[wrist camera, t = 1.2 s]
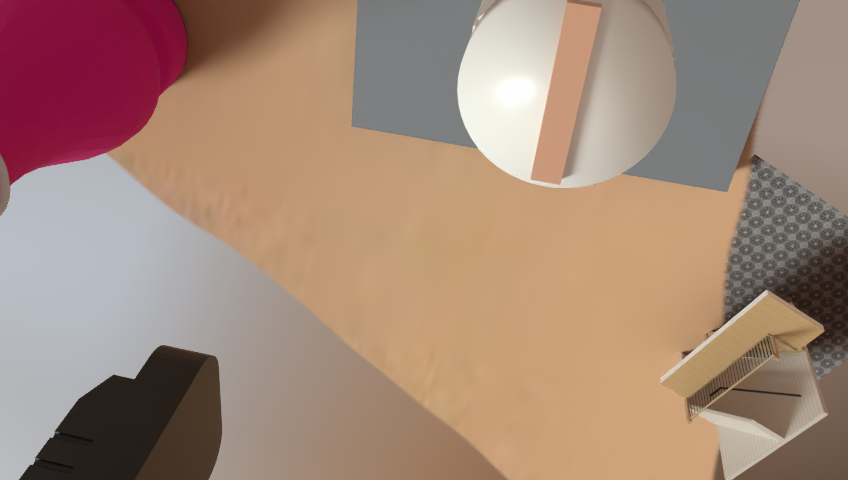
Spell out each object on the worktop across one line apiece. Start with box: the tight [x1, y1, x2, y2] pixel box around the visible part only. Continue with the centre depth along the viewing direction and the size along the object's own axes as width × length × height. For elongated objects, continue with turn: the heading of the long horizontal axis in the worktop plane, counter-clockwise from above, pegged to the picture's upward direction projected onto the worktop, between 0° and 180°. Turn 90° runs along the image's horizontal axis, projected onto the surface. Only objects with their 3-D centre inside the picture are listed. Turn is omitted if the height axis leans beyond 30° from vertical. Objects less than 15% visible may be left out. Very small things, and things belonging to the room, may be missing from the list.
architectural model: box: [661, 289, 828, 480], centre depth 36 cm, size 3×7×7 cm, turn 150°
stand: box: [352, 0, 800, 192], centre depth 26 cm, size 16×16×12 cm
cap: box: [457, 0, 676, 188], centre depth 22 cm, size 5×5×5 cm
